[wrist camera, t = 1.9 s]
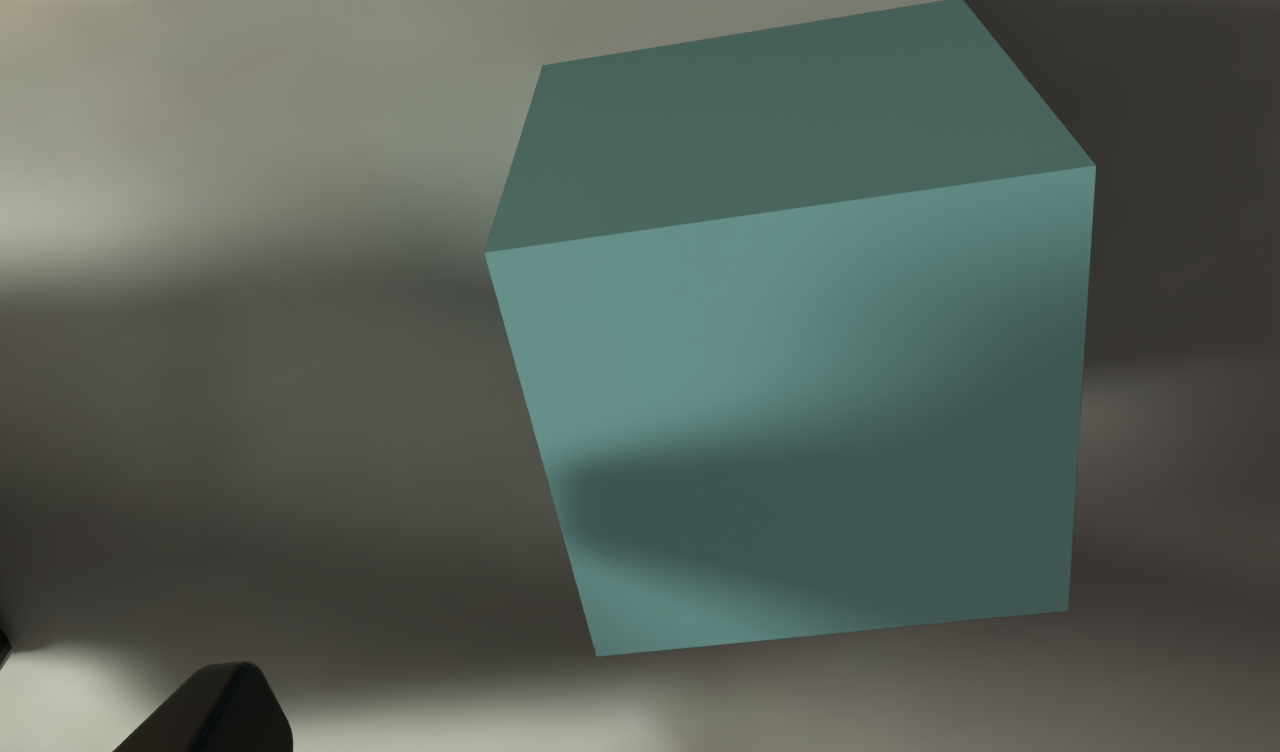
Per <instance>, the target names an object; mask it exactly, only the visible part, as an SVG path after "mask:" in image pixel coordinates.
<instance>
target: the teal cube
mask: <svg viewBox="0 0 1280 752" xmlns="http://www.w3.org/2000/svg"><path fill="white" fill-rule="evenodd" d="M1095 175H1096V165H1095V164H1094V162H1093V161H1092V160H1091V159H1090V157H1089V156H1088V155H1087V154H1086V152H1085V151H1084V150H1083V149H1082V147H1081V146H1080V145H1079V144H1078V142H1077V141H1076V140H1075V139H1074V137H1073V136H1072V135H1071V134H1070V132H1069V131H1068V130H1067V129H1066V127H1065V126H1064V125H1063V124H1062V122H1061V121H1060V120H1059V119H1058V117H1057V116H1056V115H1055V114H1054V112H1053V111H1052V110H1051V109H1050V108H1049V106H1048V105H1047V104H1046V103H1045V101H1044V100H1043V99H1042V98H1041V96H1040V95H1039V94H1038V93H1037V91H1036V90H1035V89H1034V88H1033V86H1032V85H1031V84H1030V83H1029V81H1028V80H1027V79H1026V78H1025V76H1024V75H1023V74H1022V73H1021V71H1020V70H1019V69H1018V68H1017V66H1016V65H1015V64H1014V63H1013V61H1012V60H1011V59H1010V58H1009V56H1008V55H1007V54H1006V53H1005V51H1004V50H1003V49H1002V48H1001V46H1000V45H999V44H998V43H997V41H996V40H995V39H994V38H993V36H992V35H991V34H990V33H989V32H988V30H987V29H986V28H985V27H984V25H983V24H982V23H981V22H980V20H979V19H978V18H977V17H976V15H975V14H974V13H973V12H972V10H971V9H970V8H969V7H968V5H967V4H966V3H965V2H964V0H944V1H938V2H932V3H926V4H920V5H913V6H907V7H901V8H895V9H889V10H883V11H876V12H870V13H864V14H858V15H852V16H846V17H839V18H833V19H827V20H821V21H815V22H809V23H802V24H796V25H790V26H784V27H778V28H772V29H765V30H759V31H753V32H747V33H741V34H735V35H728V36H722V37H716V38H710V39H704V40H698V41H691V42H685V43H679V44H673V45H667V46H661V47H654V48H648V49H642V50H636V51H630V52H624V53H617V54H611V55H605V56H599V57H593V58H587V59H580V60H574V61H568V62H562V63H556V64H550V65H543V66H542V69H541V73H540V76H539V79H538V82H537V85H536V89H535V92H534V95H533V98H532V101H531V105H530V108H529V111H528V114H527V117H526V121H525V124H524V127H523V130H522V133H521V137H520V140H519V143H518V146H517V149H516V153H515V156H514V159H513V162H512V165H511V169H510V172H509V175H508V178H507V181H506V185H505V188H504V191H503V194H502V197H501V201H500V204H499V207H498V210H497V213H496V217H495V220H494V223H493V226H492V229H491V233H490V236H489V239H488V242H487V245H486V249H485V252H484V254H485V257H486V261H487V265H488V268H489V272H490V275H491V279H492V283H493V286H494V290H495V293H496V297H497V301H498V304H499V308H500V311H501V315H502V319H503V322H504V326H505V329H506V333H507V336H508V340H509V344H510V347H511V351H512V354H513V358H514V362H515V365H516V369H517V372H518V376H519V380H520V383H521V387H522V390H523V394H524V398H525V401H526V405H527V408H528V412H529V416H530V419H531V423H532V426H533V430H534V434H535V437H536V441H537V444H538V448H539V451H540V455H541V459H542V462H543V466H544V469H545V473H546V477H547V480H548V484H549V487H550V491H551V495H552V498H553V502H554V505H555V509H556V513H557V516H558V520H559V523H560V527H561V531H562V534H563V538H564V541H565V545H566V549H567V552H568V556H569V559H570V563H571V566H572V570H573V574H574V577H575V581H576V584H577V588H578V592H579V595H580V599H581V602H582V606H583V610H584V613H585V617H586V620H587V624H588V628H589V631H590V635H591V638H592V642H593V646H594V649H595V653H596V656H597V657H599V656H609V655H619V654H629V653H640V652H650V651H660V650H670V649H681V648H691V647H701V646H711V645H722V644H732V643H742V642H752V641H763V640H773V639H783V638H793V637H804V636H814V635H824V634H834V633H845V632H855V631H865V630H875V629H886V628H896V627H906V626H916V625H927V624H937V623H947V622H957V621H968V620H978V619H988V618H998V617H1009V616H1019V615H1029V614H1039V613H1050V612H1060V611H1068V604H1069V589H1070V573H1071V557H1072V541H1073V525H1074V509H1075V493H1076V477H1077V461H1078V445H1079V429H1080V413H1081V397H1082V382H1083V366H1084V350H1085V334H1086V318H1087V302H1088V286H1089V270H1090V254H1091V238H1092V222H1093V206H1094V190H1095Z"/></svg>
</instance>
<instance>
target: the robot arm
mask: <svg viewBox="0 0 1280 752" xmlns="http://www.w3.org/2000/svg"><path fill="white" fill-rule="evenodd" d="M11 651H12V646H11V644H10V642H9V639H8V638H7V637H6V635H5V634H4V632H3V631H2V629H1V628H0V670H1V669H2V667H3V666H4V664H5V663H6V661H7V660H8V658H9V657H10V655H11ZM113 752H293V736H292V732H291V728H290V725H289V722H288V720H287V718H286V716H285V715H284V713H283V711H282V709H281V707H280V705H279V703H278V701H277V699H276V697H275V695H274V694H273V692H272V690H271V688H270V686H269V684H268V682H267V680H266V678H265V676H264V674H263V673H262V671H261V670H260V668H259V667H258V666H256V665H255V664H254V663H252V662H247V661H242V662H233V663H223V664H214V665H208V666H205V667H202V668H201V669H199V670H198V671H196V672H195V673H194V674H193V675H192V676H191V677H190V678H189V679H188V680H186V681H185V682H184V683H183V684H182V685H181V686H180V687H179V688H178V689H177V690H176V691H175V692H174V693H173V694H172V695H171V696H170V697H169V698H168V699H167V700H166V701H165V702H164V703H163V704H162V705H160V706H159V707H158V708H157V709H156V710H155V711H154V712H153V713H152V714H151V715H150V716H149V717H148V718H147V719H146V720H145V721H144V722H143V723H142V724H141V725H140V726H139V727H138V728H137V729H136V730H134V731H133V732H132V733H131V734H130V735H129V736H128V737H127V738H126V739H125V740H124V741H123V742H122V743H121V744H120V745H119V746H118V747H117V748H116V749H115V750H114V751H113Z"/></svg>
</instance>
